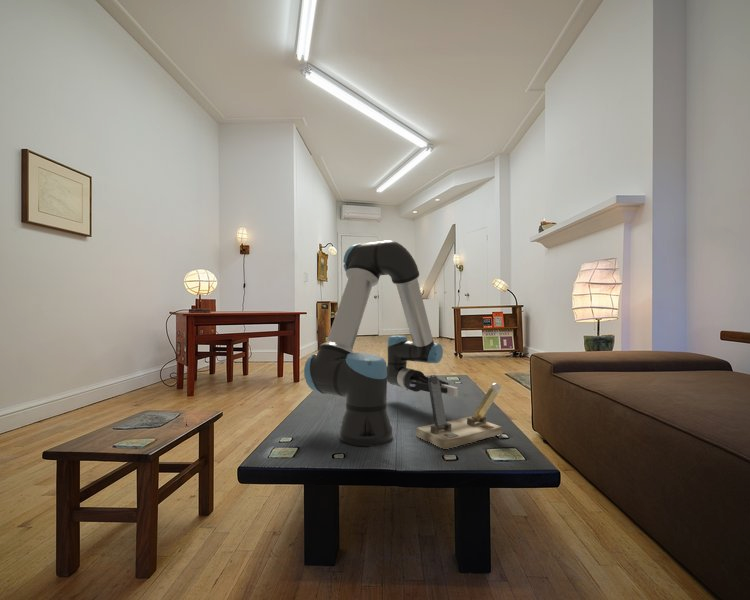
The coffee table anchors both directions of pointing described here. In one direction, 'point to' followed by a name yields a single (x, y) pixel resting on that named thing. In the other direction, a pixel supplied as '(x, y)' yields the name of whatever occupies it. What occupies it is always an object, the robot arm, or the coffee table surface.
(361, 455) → the coffee table surface
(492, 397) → the lever brass
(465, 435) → the console
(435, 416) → the lever slate
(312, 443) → the coffee table surface
